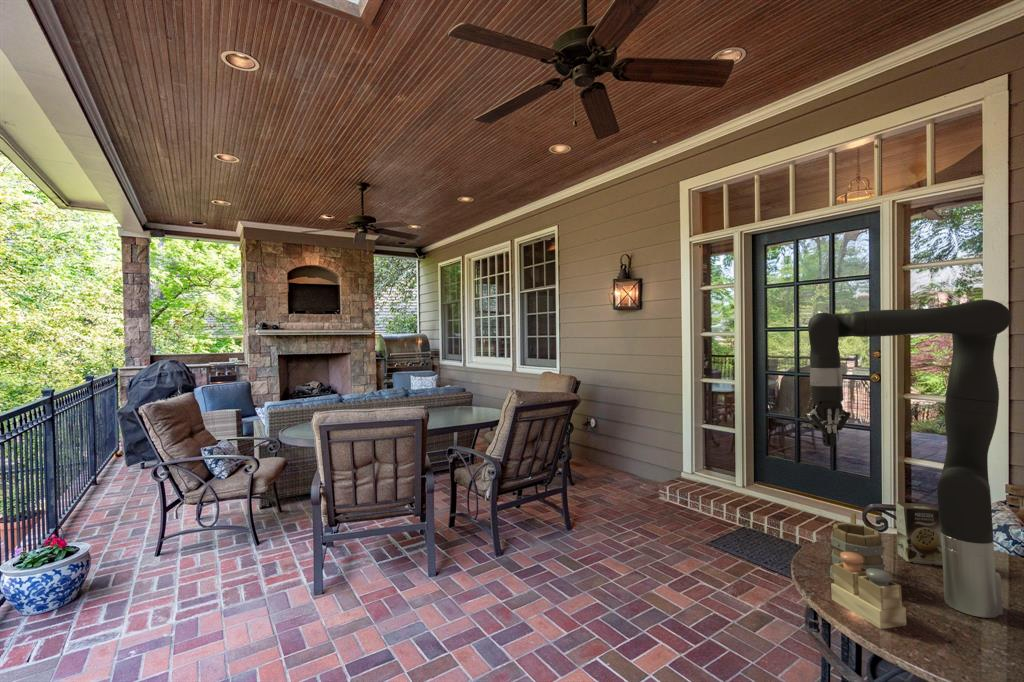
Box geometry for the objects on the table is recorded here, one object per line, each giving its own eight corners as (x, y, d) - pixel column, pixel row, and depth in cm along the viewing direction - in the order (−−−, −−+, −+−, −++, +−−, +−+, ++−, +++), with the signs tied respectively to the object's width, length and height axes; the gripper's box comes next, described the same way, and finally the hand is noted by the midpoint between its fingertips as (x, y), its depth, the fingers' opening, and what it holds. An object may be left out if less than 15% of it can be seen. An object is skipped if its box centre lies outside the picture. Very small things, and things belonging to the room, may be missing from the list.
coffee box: (908, 563, 135) (905, 508, 136) (897, 553, 142) (894, 501, 142) (946, 566, 133) (942, 510, 133) (933, 557, 139) (930, 503, 140)
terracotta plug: (852, 577, 117) (851, 550, 117) (869, 586, 113) (868, 558, 113) (837, 579, 116) (835, 552, 117) (853, 588, 112) (852, 560, 112)
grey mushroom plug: (879, 596, 110) (877, 567, 110) (898, 606, 106) (896, 576, 106) (862, 598, 109) (861, 569, 110) (881, 608, 105) (879, 578, 105)
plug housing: (855, 596, 118) (853, 561, 118) (906, 625, 105) (904, 585, 105) (831, 599, 117) (830, 563, 117) (880, 629, 104) (878, 588, 104)
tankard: (889, 597, 117) (886, 538, 118) (829, 583, 125) (826, 528, 125) (885, 567, 133) (882, 515, 134) (832, 557, 141) (830, 507, 141)
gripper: (816, 385, 123) (819, 450, 123) (858, 383, 125) (862, 447, 125) (794, 384, 131) (797, 445, 130) (835, 382, 133) (838, 442, 132)
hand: (829, 446), depth 127 cm, fingers closed
